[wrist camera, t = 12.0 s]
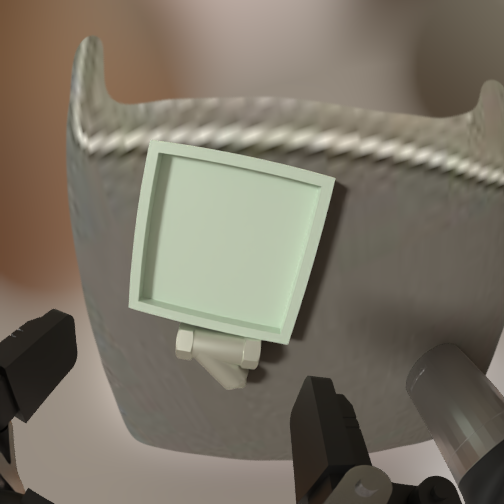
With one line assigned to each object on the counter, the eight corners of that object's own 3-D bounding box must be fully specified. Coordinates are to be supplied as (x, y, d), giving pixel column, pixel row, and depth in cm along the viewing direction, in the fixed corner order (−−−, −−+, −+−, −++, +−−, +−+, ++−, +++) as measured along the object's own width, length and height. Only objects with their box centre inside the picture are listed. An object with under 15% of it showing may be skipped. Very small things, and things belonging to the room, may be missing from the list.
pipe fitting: (250, 377, 31) (260, 327, 30) (250, 399, 27) (262, 347, 26) (180, 367, 31) (183, 315, 29) (173, 388, 27) (175, 334, 25)
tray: (330, 177, 25) (335, 178, 23) (286, 334, 29) (287, 344, 27) (158, 141, 25) (150, 139, 23) (136, 299, 29) (128, 307, 27)
